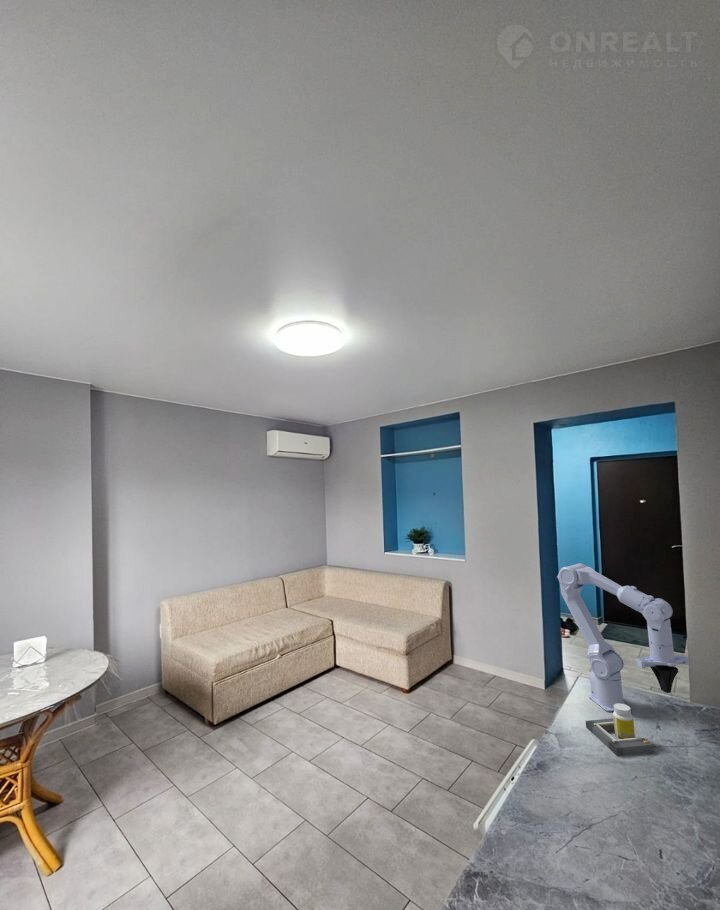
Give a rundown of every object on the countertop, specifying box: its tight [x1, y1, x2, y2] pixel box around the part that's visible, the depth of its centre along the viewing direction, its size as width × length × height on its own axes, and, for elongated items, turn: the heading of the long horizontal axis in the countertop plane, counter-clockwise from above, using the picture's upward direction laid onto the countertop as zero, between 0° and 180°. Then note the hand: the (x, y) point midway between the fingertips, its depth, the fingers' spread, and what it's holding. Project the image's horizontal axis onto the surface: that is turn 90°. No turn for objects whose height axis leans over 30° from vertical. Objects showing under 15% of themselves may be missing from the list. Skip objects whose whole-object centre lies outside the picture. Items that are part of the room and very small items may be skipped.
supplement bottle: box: [612, 703, 636, 740], centre depth 115 cm, size 5×5×8 cm
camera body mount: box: [585, 718, 654, 756], centre depth 114 cm, size 13×10×2 cm
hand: (666, 691), depth 119 cm, fingers closed
